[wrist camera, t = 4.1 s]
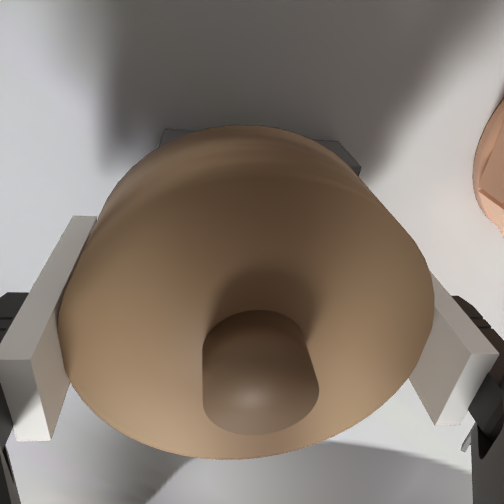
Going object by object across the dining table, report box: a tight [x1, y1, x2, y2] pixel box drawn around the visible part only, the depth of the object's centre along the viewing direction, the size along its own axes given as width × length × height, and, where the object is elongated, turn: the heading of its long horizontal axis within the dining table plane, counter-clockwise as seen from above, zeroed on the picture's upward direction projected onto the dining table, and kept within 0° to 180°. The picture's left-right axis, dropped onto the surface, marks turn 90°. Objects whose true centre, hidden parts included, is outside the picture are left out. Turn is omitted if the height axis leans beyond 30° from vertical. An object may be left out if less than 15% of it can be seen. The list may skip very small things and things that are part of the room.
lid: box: [57, 125, 435, 460], centre depth 12 cm, size 10×10×6 cm
